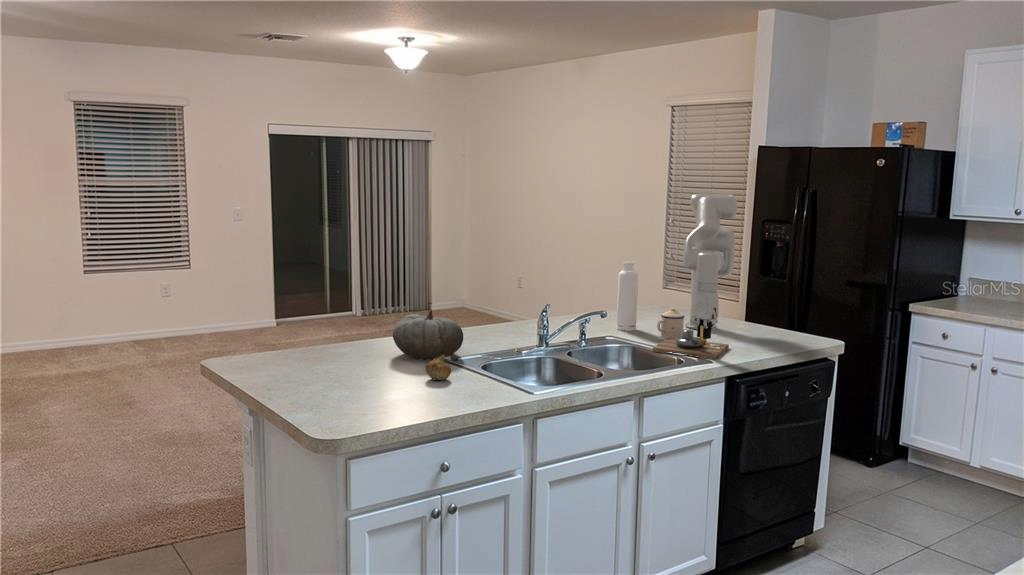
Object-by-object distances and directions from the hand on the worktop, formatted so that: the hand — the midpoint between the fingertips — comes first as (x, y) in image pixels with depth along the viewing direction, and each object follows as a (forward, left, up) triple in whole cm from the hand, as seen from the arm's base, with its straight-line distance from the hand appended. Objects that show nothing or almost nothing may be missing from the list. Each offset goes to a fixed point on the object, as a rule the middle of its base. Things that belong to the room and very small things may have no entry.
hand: (703, 337), depth 285 cm
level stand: (-7, -6, -7) cm, 11 cm away
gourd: (+51, -85, -7) cm, 99 cm away
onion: (+75, -64, -7) cm, 99 cm away
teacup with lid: (-24, -20, -7) cm, 31 cm away
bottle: (-30, -40, -7) cm, 50 cm away
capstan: (-4, -5, -5) cm, 8 cm away
